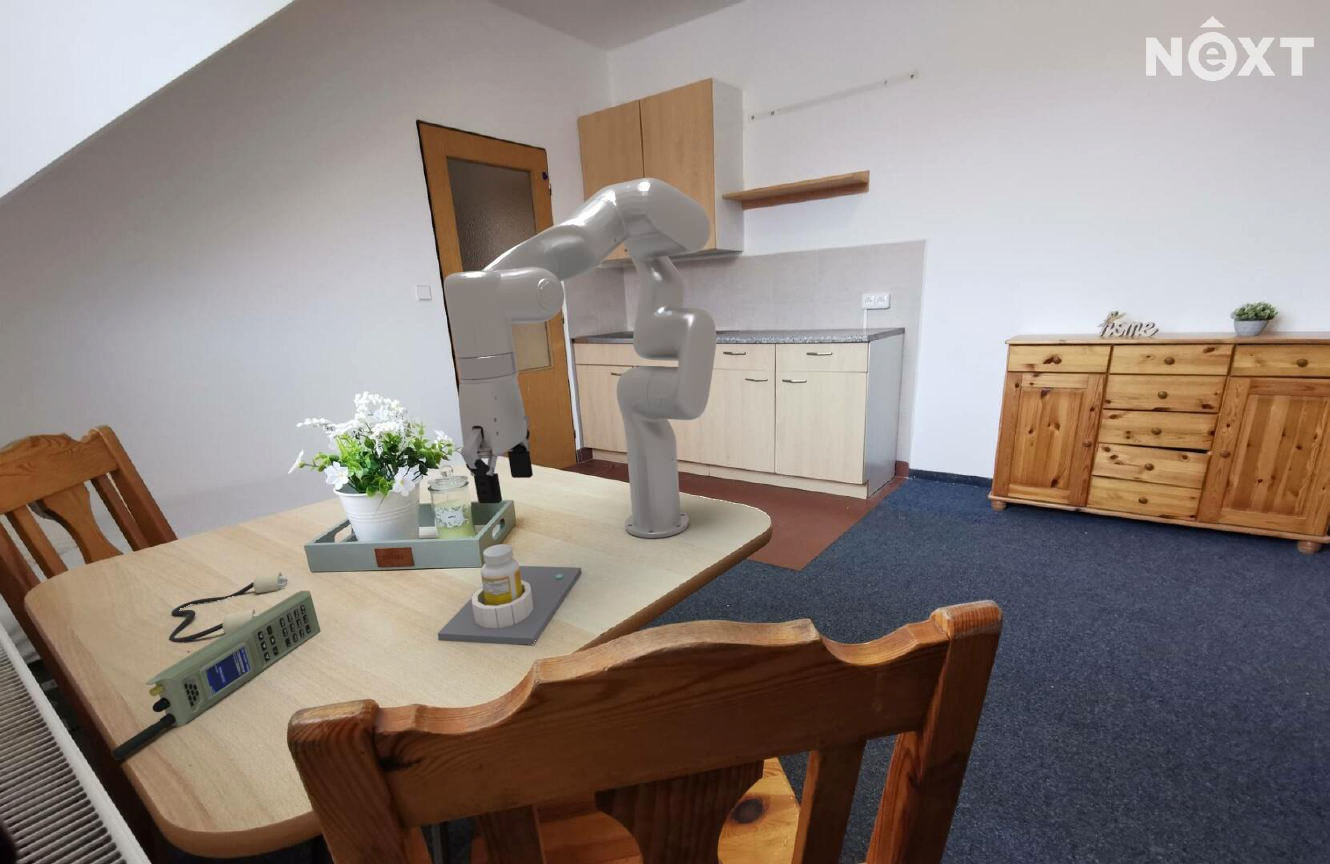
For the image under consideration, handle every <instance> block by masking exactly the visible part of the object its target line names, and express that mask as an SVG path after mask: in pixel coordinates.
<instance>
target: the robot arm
mask: <svg viewBox="0 0 1330 864" xmlns="http://www.w3.org/2000/svg"><path fill="white" fill-rule="evenodd" d="M710 236H711V222H710V218H709V216H708V213H707V212H706V210H705V209H704V208H703V206H702V205H701V204H700V203H699V202H698V201H696V200H695V199H693V198H692V197H690V196H688V195H687V194H685V193H684V192H683V191H681V190H679V189H677V188H676V187H674V186H673V185H671V184H669V183H668V182H665V181H663V180H660V179H657V178H653V177H644V178H643V177H642V178H638V179H633V180H629V181H624V182H619V183H614V184H610V185H607V186H604V187H603V188H601V189H599V190H597V191H596V192H595V193H594V194H593V195H592V196H590V197H589V198H588V199H587V200H586V201H584V202H583V203H582V204H580V205H579V206H578V207H577V208H576V209H575V210H573V211H572V212H570V213H569V214H568V215H567V216H566V217H565V218H563V219H562V220H561V221H560V222H558V223H556V224H555V225H552V226H550V227H548V228H546V229H544V230H543V231H540V232H539V233H537V234H535V235H534V236H532V237H529V239H528V238H527V239H526V240H524V241H523V242H521V243H519V244H517V245H514V247H512V248H510V249H508V250H507V251H505V252H504V253H501V255H499V256H498V257H497V258H495V259H494V260H493V261H491V262H490V263H489V264H487V265H486V266H485V267H484V268H482V269H481V270H473V271H472V270H470V271H462V272H454V273H451V274H448V275H447V276H446V277H445V279H444V281H443V290H444V296H445V302H446V307H447V313H448V318H449V324H450V331H451V335H452V342H453V347H454V348H453V349H454V354H455V359H456V365H457V371H458V377H459V386H458V387H459V388H458V408H459V419H460V420H459V421H460V429H461V437H462V448H461V449H460V456H461V457H462V458H463V460H464V462H465V466H466V468H467V469H468V470H469V471H470V475H471V476H472V477H473V480H474V485H475V491H476V495H477V496H476V497H477V502H478V503H479V504H500V503H501V502H503V497H502V491H501V483H500V479H499V472H498V473H497V472H496V473H495V470H496V465H497V461H498V457H500V456H502V455H504V454H505V453H507V456H508V462H509V463H508V464H509V469H510V470H509V471H510V475H511V477H512V479H513V478H514V479H521V478H522V479H523V478H524V479H525V478H526V479H527V478H528V479H530V478H532V477H533V475H534V474H533V467H532V460H531V452H530V449H531V443H530V442H529V439H530V436H531V435H530V433H531V432H530V430H529V427H530V417H529V416H528V415H526V412H525V407H524V401H523V398H522V392H521V388H520V384H519V380H518V376H519V371H518V362H517V355H516V350H515V342H514V335H513V330H512V329H513V328H512V325H514V324H516V325H518V324H521V325H522V324H523V325H527V324H540V323H544V322H547V321H550V320H552V319H553V318H554V317H556V316H557V315H558V313H559V312H560V311H561V309H562V308H563V305H564V302H565V291H564V290H565V289H564V287H563V284H562V282H564V281H567V280H572V279H575V278H577V277H580V276H582V275H584V274H585V275H586V274H587V273H590V272H592V271H594V270H595V269H596V268H598V267H600V265H601V264H602V263H603V262H604V261H605V260H606V259H607V258H608V257H609V256H610V255H611V254H612V253H613V252H614V251H615V250H617V248H618V247H619V246H620V245H623V246H624V248H625V250H626V251H627V253H628V255H629V257H630V259H631V260H632V263H633V265H634V267H635V269H636V272H637V275H638V279H639V294H638V295H639V296H638V303H637V309H636V316H635V320H634V322H635V323H634V327H633V335H632V337H633V338H632V342H633V343H632V345H633V349H634V351H635V353H636V354H637V355H638V356H639V357H640V358H642V359H645V360H649V361H650V360H651V361H670V362H672V361H674V362H676V361H677V362H678V365H677V366H665V365H640V366H639V365H638V366H635V367H631V368H628V369H627V370H625V371H624V372H623V373H622V374H621V375H620V377H619V378H618V380H617V385H616V392H615V393H616V400H617V403H618V407H619V410H620V414H621V417H622V421H623V426H624V432H625V442H626V443H625V444H626V455H627V456H626V457H627V466H628V479H629V491H630V492H629V493H630V501H631V502H630V503H631V515H629V517H627V518H626V519H625V522H624V524H625V530H626V532H628V533H629V534H631V535H633V536H635V537H638V538H646V539H656V538H658V539H661V538H667V537H670V536H675V535H677V534H679V533H682V532H683V531H685V530H686V529H687V528H688V527H689V525H690V524H689V523H690V519H689V516H688V514H686V513H685V512H683V511H682V510H681V500H680V498H681V497H680V487H679V486H680V485H679V484H680V482H679V470H678V469H679V466H678V452H677V451H678V450H677V438H676V434H675V431H674V429H673V427H672V425H671V423H670V421H669V420H675V421H676V420H678V421H692V420H695V419H699V417H701V416H702V414H703V413H704V412H705V410H706V408H707V405H708V402H709V396H710V392H711V391H710V390H711V384H712V378H713V371H714V362H715V356H716V348H717V347H716V346H717V330H716V325H715V321H714V319H713V317H712V316H711V315H710V313H709V312H708V311H706V310H705V309H702V308H699V307H684V300H685V294H686V293H685V290H686V289H685V282H684V279H683V277H682V275H681V273H680V271H679V270H678V268H677V267H676V266H675V264H674V263H673V262H672V260H671V259H670V257H672V256H679V255H681V256H682V255H688V254H695V253H697V252H700V251H701V250H702V249H704V248H705V246H706V245H707V244H708V242H709V239H710ZM483 459H484V460H485V459H487V463H486V462H485V461H483Z"/></svg>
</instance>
